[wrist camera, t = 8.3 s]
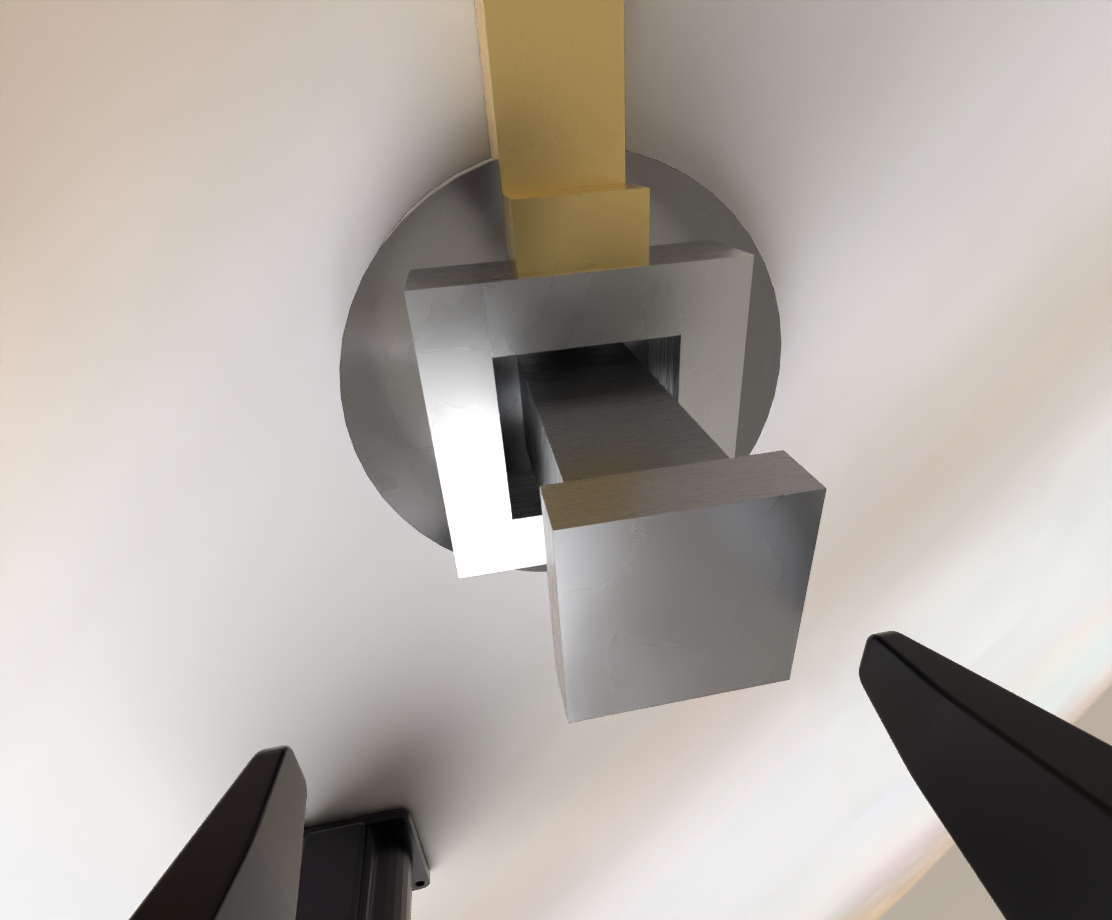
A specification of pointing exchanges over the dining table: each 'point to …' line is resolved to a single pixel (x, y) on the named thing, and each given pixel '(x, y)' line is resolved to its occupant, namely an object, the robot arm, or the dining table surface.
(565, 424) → the wedge pin
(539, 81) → the rosette
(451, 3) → the dining table surface
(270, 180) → the dining table surface
